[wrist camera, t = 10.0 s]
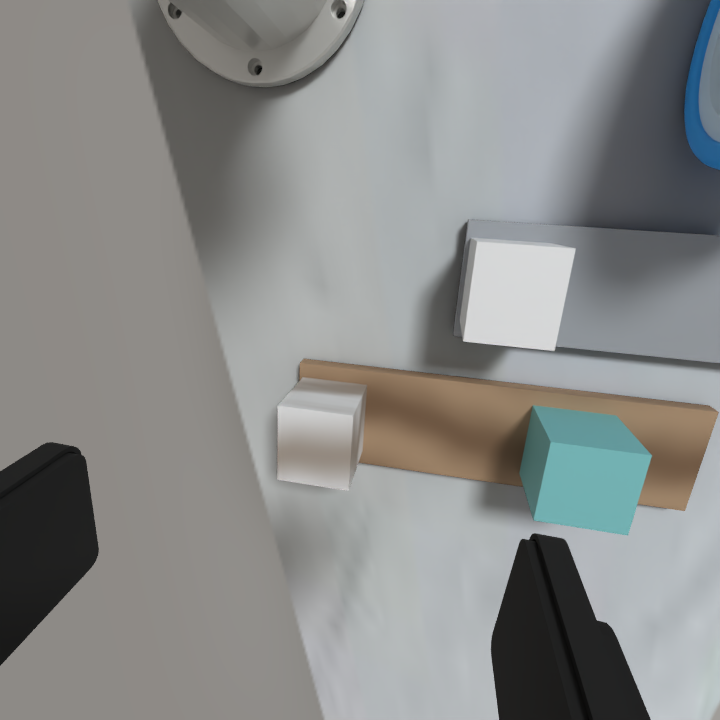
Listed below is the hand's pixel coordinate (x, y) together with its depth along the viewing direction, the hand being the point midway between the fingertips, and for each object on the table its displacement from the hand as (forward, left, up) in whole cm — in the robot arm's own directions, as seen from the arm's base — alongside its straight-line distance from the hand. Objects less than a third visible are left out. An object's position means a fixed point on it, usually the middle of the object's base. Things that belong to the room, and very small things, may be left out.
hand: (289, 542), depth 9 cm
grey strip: (-3, +17, -22) cm, 28 cm away
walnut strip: (+7, +7, -22) cm, 24 cm away
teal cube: (+7, +12, -20) cm, 24 cm away
